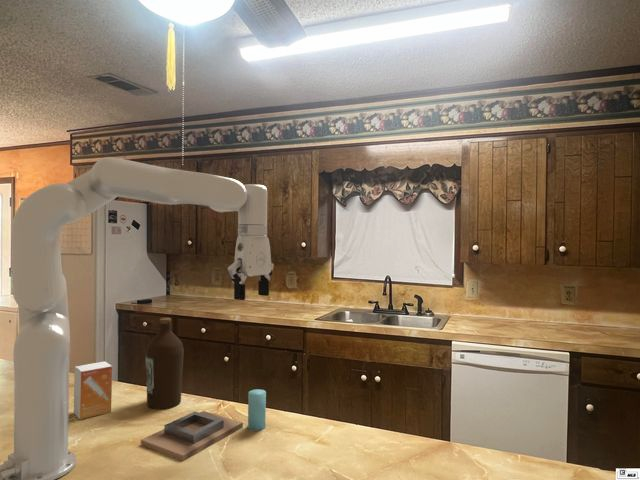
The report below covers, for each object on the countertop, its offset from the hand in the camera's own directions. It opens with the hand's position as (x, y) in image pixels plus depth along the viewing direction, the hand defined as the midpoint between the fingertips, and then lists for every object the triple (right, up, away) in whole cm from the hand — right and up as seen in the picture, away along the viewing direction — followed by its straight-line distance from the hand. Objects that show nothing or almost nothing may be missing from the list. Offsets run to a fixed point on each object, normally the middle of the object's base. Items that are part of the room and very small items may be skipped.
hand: (252, 297), depth 112 cm
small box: (-45, -33, +7) cm, 56 cm away
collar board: (-13, -33, -6) cm, 36 cm away
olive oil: (-28, -33, +14) cm, 46 cm away
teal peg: (+1, -34, -1) cm, 34 cm away
